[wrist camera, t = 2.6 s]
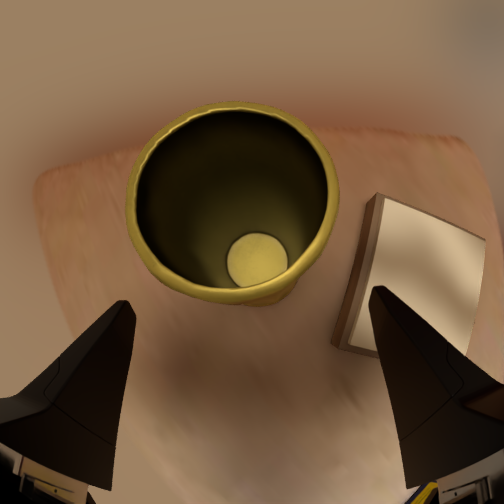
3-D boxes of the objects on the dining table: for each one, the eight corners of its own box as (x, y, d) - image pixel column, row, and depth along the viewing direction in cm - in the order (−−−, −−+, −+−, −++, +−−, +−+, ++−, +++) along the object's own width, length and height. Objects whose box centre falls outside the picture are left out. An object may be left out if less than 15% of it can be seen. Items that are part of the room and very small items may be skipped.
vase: (214, 226, 21) (123, 109, 7) (296, 220, 21) (332, 82, 6) (218, 308, 20) (106, 324, 6) (303, 303, 19) (376, 312, 5)
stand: (443, 367, 18) (463, 374, 15) (330, 343, 19) (340, 350, 16) (469, 244, 19) (489, 237, 16) (366, 203, 20) (379, 189, 17)
